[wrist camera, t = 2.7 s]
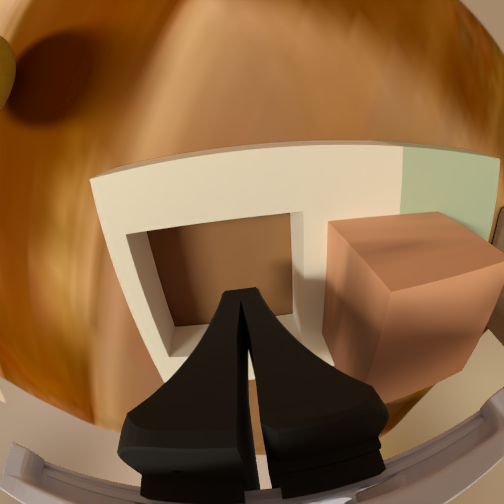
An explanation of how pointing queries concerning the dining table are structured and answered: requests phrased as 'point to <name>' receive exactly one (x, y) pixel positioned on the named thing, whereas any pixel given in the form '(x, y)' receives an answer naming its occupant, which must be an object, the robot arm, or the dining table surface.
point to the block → (406, 298)
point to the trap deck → (277, 202)
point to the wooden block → (500, 320)
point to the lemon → (6, 70)
